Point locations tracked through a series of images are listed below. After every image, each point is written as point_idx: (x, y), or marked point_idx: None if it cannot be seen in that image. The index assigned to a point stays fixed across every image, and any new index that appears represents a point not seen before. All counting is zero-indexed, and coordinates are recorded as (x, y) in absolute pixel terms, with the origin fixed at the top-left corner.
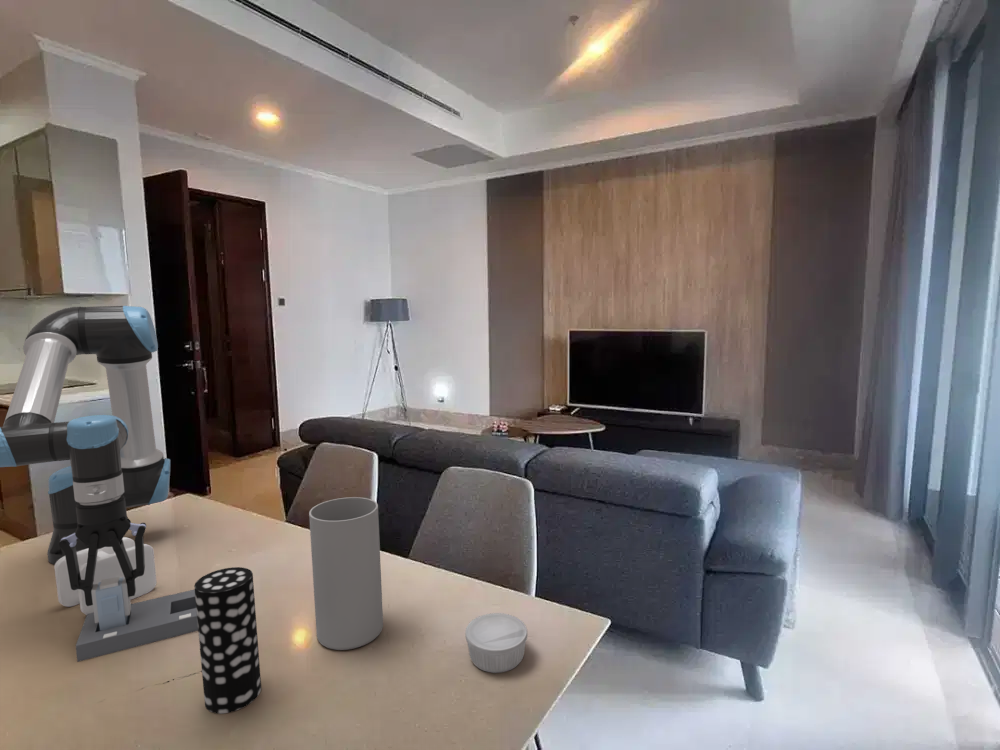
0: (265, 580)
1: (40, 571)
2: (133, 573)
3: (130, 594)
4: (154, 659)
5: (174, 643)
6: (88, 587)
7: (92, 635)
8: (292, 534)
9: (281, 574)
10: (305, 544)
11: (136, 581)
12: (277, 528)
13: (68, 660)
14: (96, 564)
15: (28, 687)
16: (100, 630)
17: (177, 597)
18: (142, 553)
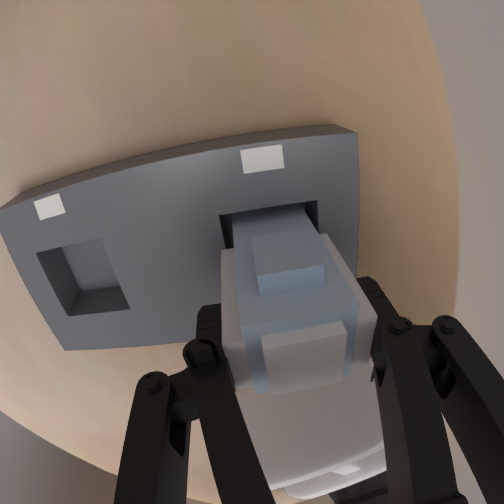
0: (22, 353)
1: None
2: (190, 392)
3: (215, 310)
4: (121, 72)
5: (90, 143)
6: (394, 327)
7: (321, 181)
8: (70, 447)
9: (8, 360)
10: (33, 420)
11: (261, 408)
12: (103, 464)
13: (360, 157)
14: (356, 447)
15: (414, 74)
16: (304, 213)
17: (124, 326)
18: (118, 492)
